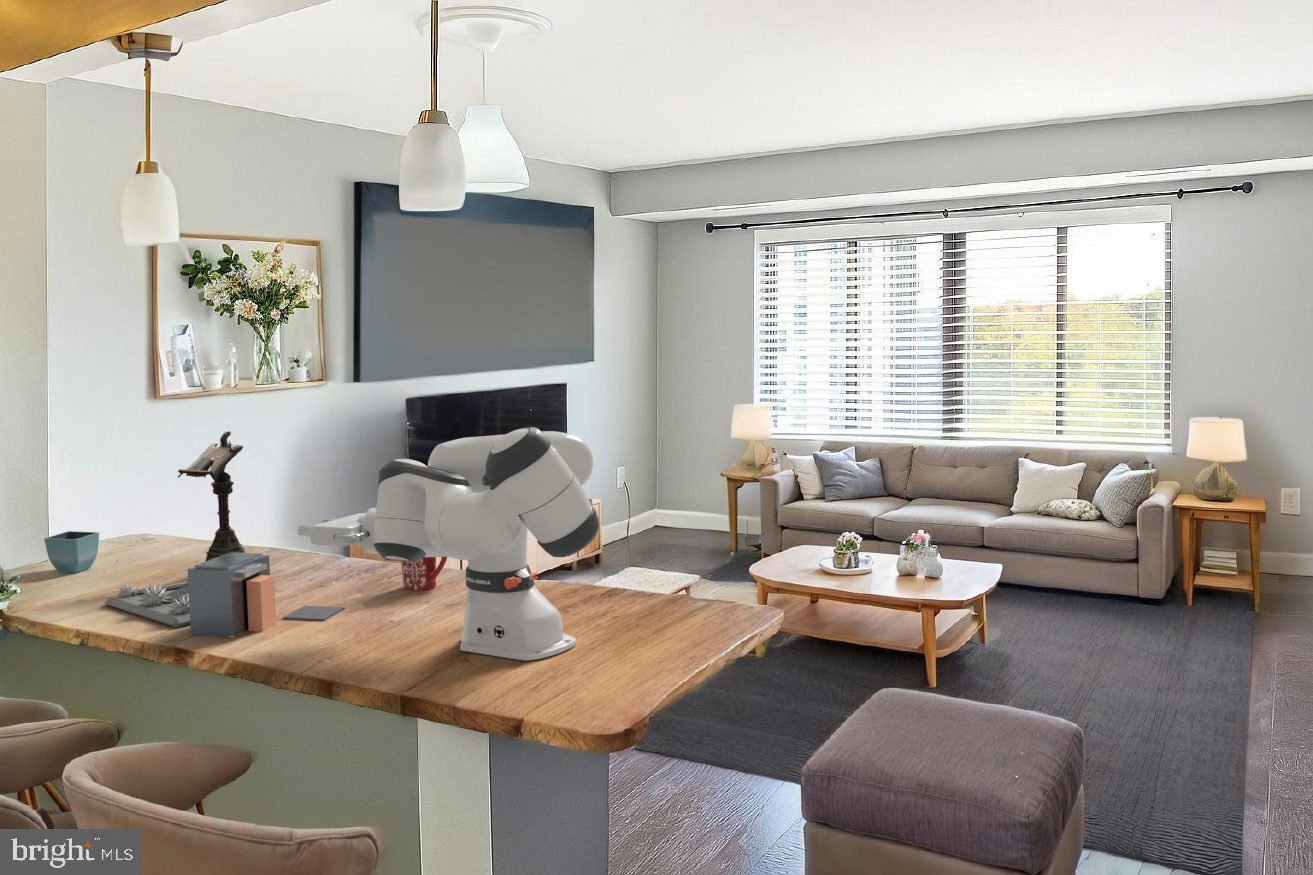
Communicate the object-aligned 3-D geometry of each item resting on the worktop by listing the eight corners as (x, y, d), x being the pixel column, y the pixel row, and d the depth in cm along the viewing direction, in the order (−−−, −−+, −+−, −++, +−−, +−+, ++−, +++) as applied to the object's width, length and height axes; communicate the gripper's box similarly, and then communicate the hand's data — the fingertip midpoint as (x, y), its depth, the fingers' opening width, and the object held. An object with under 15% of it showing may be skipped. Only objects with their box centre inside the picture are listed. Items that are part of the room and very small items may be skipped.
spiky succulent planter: (271, 608, 226) (270, 575, 225) (174, 632, 209) (172, 596, 208) (198, 587, 244) (196, 557, 244) (102, 608, 227) (100, 575, 227)
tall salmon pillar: (276, 624, 212) (273, 575, 211) (262, 631, 207) (260, 581, 206) (262, 623, 213) (260, 575, 212) (248, 630, 208) (246, 581, 207)
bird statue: (209, 586, 243) (201, 435, 239) (172, 580, 249) (164, 433, 246) (267, 572, 257) (261, 429, 253) (231, 566, 264) (224, 426, 260)
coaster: (344, 609, 223) (344, 607, 223) (324, 620, 214) (324, 618, 214) (305, 607, 225) (305, 605, 225) (283, 618, 216) (283, 617, 216)
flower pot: (78, 575, 255) (75, 538, 254) (45, 574, 256) (42, 538, 255) (102, 567, 263) (100, 531, 263) (70, 566, 265) (68, 531, 264)
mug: (390, 589, 240) (388, 530, 238) (418, 580, 248) (416, 524, 246) (432, 596, 234) (430, 536, 232) (459, 587, 241) (458, 529, 240)
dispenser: (277, 617, 217) (274, 552, 216) (239, 637, 203) (235, 568, 202) (231, 615, 219) (228, 550, 217) (191, 634, 205) (187, 566, 204)
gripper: (354, 555, 193) (283, 550, 195) (399, 540, 213) (335, 535, 215) (355, 521, 192) (284, 516, 195) (400, 508, 213) (335, 505, 215)
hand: (311, 526), depth 205 cm, fingers open, 8 cm apart
